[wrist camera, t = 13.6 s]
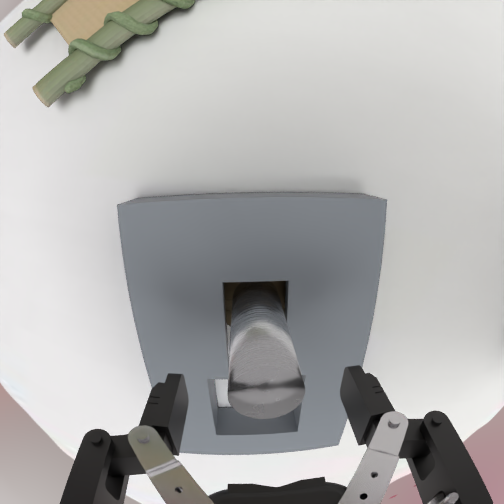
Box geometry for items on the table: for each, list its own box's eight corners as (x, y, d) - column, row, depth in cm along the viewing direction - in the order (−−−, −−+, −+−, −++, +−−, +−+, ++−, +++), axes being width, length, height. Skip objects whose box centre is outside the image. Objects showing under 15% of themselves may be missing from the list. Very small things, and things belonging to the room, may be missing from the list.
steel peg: (294, 252, 23) (343, 335, 11) (291, 322, 24) (324, 428, 13) (213, 254, 22) (188, 341, 11) (218, 325, 24) (205, 434, 13)
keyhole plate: (363, 193, 21) (386, 199, 18) (330, 420, 29) (338, 445, 25) (137, 198, 21) (117, 204, 17) (179, 426, 28) (174, 452, 24)
